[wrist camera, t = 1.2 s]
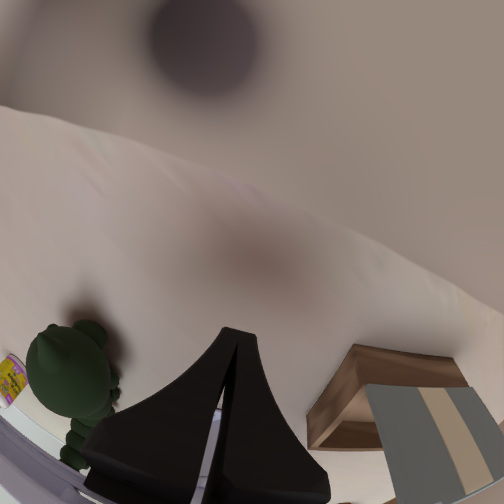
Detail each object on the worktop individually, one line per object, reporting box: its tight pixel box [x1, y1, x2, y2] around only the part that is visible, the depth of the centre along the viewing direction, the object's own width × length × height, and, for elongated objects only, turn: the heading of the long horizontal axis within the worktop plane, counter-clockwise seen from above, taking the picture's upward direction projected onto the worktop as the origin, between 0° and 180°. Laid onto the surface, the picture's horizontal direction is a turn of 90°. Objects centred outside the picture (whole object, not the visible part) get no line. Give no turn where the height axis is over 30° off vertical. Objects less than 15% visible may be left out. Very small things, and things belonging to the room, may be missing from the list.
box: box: [306, 344, 469, 451], centre depth 23 cm, size 12×14×5 cm
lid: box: [364, 383, 504, 504], centre depth 12 cm, size 12×14×1 cm
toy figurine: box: [26, 320, 120, 473], centre depth 20 cm, size 9×19×25 cm
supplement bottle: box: [0, 355, 29, 409], centre depth 28 cm, size 7×7×13 cm
